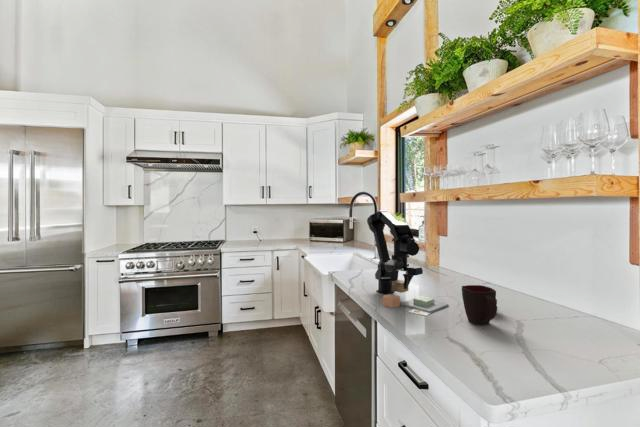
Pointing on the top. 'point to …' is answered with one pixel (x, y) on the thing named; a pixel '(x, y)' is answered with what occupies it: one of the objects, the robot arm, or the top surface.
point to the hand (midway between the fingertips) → (400, 288)
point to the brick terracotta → (391, 300)
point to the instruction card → (419, 312)
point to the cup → (479, 304)
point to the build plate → (427, 309)
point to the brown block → (398, 286)
